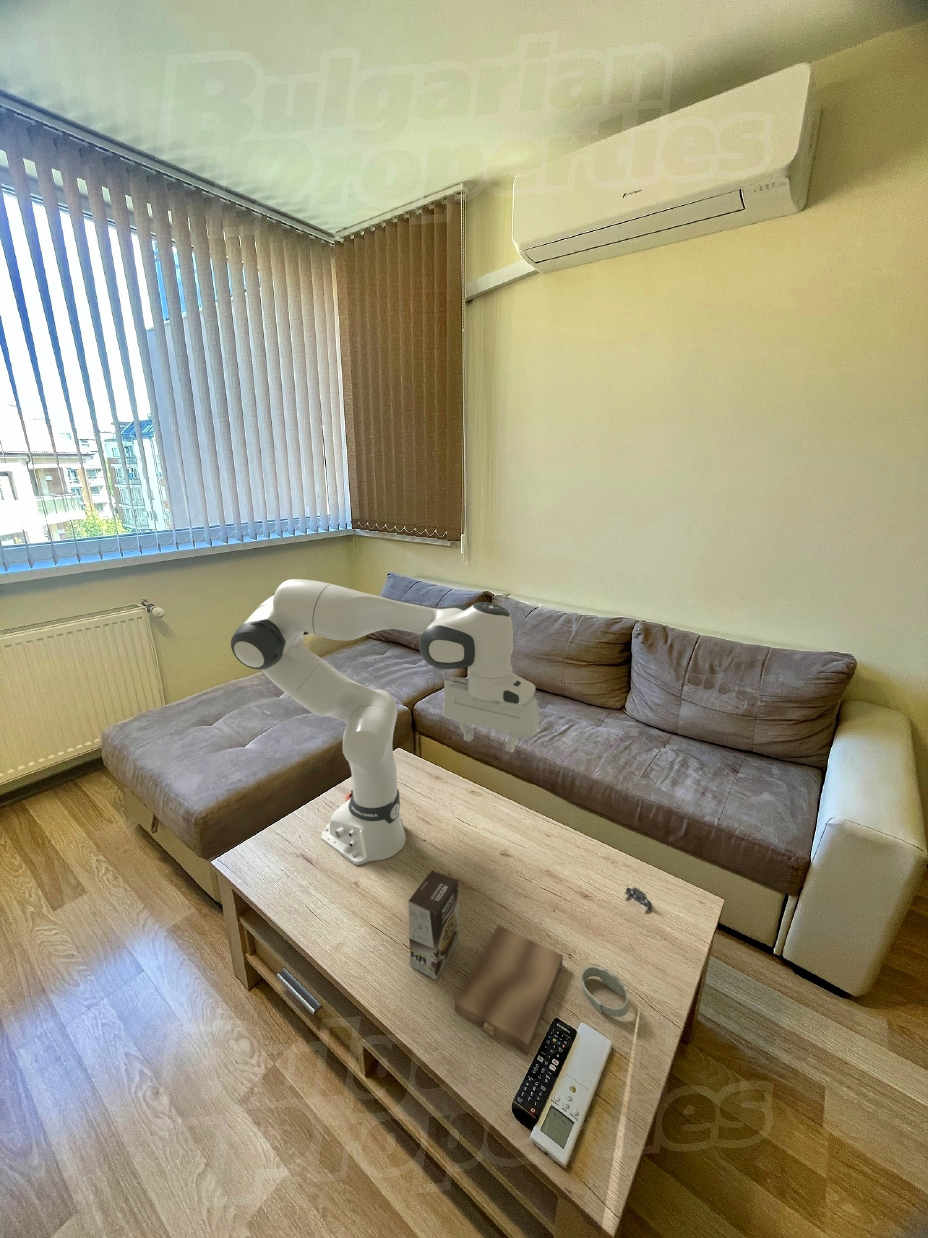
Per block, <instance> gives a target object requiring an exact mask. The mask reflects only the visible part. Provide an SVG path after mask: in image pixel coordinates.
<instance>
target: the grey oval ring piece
mask: <svg viewBox="0 0 928 1238" xmlns="http://www.w3.org/2000/svg"><path fill="white" fill-rule="evenodd" d="M592 977H593V978H594V977H596V978H599V979H600V980H601V981H602V982H603V983H604V984H605V985H606V986H607V987H608V988H609V989H611V990H612V991H613V992H615V994H617V995H622V996H624V998H625V999H626V1000H625V1002H624V1004H623V1005H622V1006H620V1007H610V1006H608V1005H605V1004H604V1003H603V1002H602V1001H600V1000H599V999H598V998H597V997H596V996H594V995H593V994H592V993H591V992H590V991H589V990H588V989H587V987H586V984H585V983H586V981H587V980H588V979H589V978H592ZM580 983H581V987H582V992H583V993H584V996H585V997H586V1000H588V1001H589V1003H590V1004H592V1006H594V1008H596V1009H597V1010H598V1012H599V1013H601V1014H602V1013H604V1014H606V1015H608V1016H610V1017H614V1018H621V1017H623V1016H626V1015H627V1014H628V1012H629V1010H630V1000H629V995H628V992H627V989H626V988H625V986H624V983H623V981H621V979H620V978H619V977H618V976H617V975H615V974H614V973H613V972H611V971H610V970H609V969H607V968H605V967H601V966H598V967H597V966H596V965H595V966H594V965H591V966H587V967H585V968H584V970H583V971H582V973H581V975H580Z"/></svg>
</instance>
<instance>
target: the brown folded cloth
mask: <svg viewBox="0 0 928 1238" xmlns="http://www.w3.org/2000/svg"><path fill="white" fill-rule="evenodd" d="M563 959H564V955H563V954H561V953H558V952H556V951H555V950H552V949H550V948H548V947H547V946H544V945H543V944H539V943H538V942H536V941H534V940H531V939H529V938H528V937H526V936H523V935H521V934H518V933H517V932H516V931H515V932H514V931H513V930H510V929H508V928H506V927H505V926H502V925H500V924H497V926H496V929H495V930H494V932H493V934H492V935H491V937H490V940H488V943H487V945H486V946H485V948H484V949H483V951H482V953H481V955H480V957H479V959H478V960H477V962H476V964H475V965H474V967H473V969H472V971H471V973H470V974H469V976H468V978H467V980H466V982H465V984H464V985H463V986H462V988H461V990H460V992H459V994H458V996H457V997H456V999H455V1000H454V1012H455V1013H456V1014H458V1015H460V1016H461V1017H463V1018H465V1019H466V1020H468V1021H470V1022H471V1023H473V1024H475V1025H476V1026H478V1027H479V1028H481V1029H483V1031H485V1032H486V1033H488V1034H490V1035H491V1036H494V1037H496V1038H497V1039H500V1040H501V1041H503V1042H505V1043H506V1044H508V1045H510V1046H512V1048H515V1049H516V1050H519V1052H521V1053H523V1054H525V1055H526V1056H528V1055H529V1052H530V1049H531V1047H532V1044H533V1042H534V1039H535V1036H536V1033H537V1031H538V1030H539V1026H540V1024H541V1021H542V1018H543V1016H544V1014H545V1011H546V1008H547V1006H548V1003H549V1000H550V998H551V996H552V992H553V991H554V990H553V989H554V988H555V985H556V982H557V980H558V977H559V975H560V972H561V969H562V967H563Z"/></svg>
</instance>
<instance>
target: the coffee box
mask: <svg viewBox="0 0 928 1238" xmlns="http://www.w3.org/2000/svg"><path fill="white" fill-rule="evenodd" d="M408 931H409V932H408V933H409V934H408V935H409V936H408V937H409V938H408V939H409V965H410V967H412V968H414V970H417V971H419V972H420V973H422V974H424V975H426V976H428V977H430V978H431V979H433V980H437V979H438V978H439V976H440V975H441V973H442V971H443V969H444V967H446V964H447V963H448V961H449V959H450V958H451V956H452V954H453V952H454V950H455V949H456V948H457V946H458V944H459V880H457V879H455V878H454V877H451V876H449V875H446V874H443V873H440V872H438V871H435V870H434V869H431V871H430V872H429V873H428V874H427V876H426V877H425V878H424V880H423V881H422V882H421V884H420V885H419V886H418V887H417V889H416V890H415V892H414V893H413V894H412V896H411V897H410V898H409V899H408Z"/></svg>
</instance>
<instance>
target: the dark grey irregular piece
mask: <svg viewBox="0 0 928 1238" xmlns="http://www.w3.org/2000/svg"><path fill="white" fill-rule="evenodd" d="M624 894H625V895H626V897H625V901H626V900H627V899H628V898H631V899H632V900H634V901H635V902H636V903H638V902H639V903H638V904H640V905H641V906H642V905H643V907H644V908H645V907H646V908H645V909H644V914H645V913H646V912H647V911H650V912H653V909H652V907H653V903H652V901H651V900H649V899H648V896H647V895H646V893H644V892H643V891H642V890H640V889H639V888H636V887H635V886H634V887H632V888H631V887H629V886H628V887H627V888H626V889H625V892H624ZM648 909H649V910H648Z"/></svg>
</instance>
